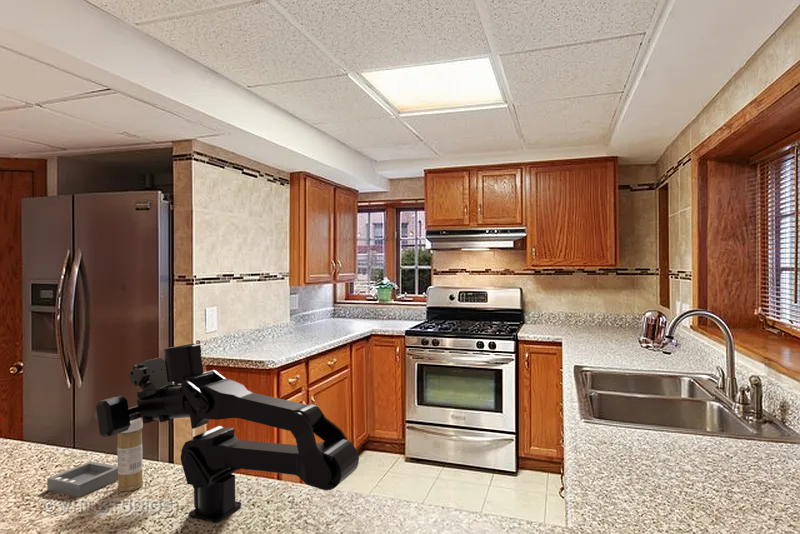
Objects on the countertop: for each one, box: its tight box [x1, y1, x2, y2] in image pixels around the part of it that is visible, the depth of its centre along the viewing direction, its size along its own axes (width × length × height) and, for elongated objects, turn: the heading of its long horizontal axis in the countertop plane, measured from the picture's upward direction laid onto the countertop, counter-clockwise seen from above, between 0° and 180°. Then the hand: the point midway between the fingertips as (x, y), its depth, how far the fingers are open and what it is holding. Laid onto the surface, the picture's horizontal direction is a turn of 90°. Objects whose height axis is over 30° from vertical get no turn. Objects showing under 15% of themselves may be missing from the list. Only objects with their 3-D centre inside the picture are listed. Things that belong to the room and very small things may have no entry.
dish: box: [46, 460, 118, 498], centre depth 99 cm, size 9×9×2 cm
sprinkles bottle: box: [116, 417, 144, 492], centre depth 97 cm, size 5×5×14 cm
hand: (117, 408), depth 96 cm, fingers open, 9 cm apart
